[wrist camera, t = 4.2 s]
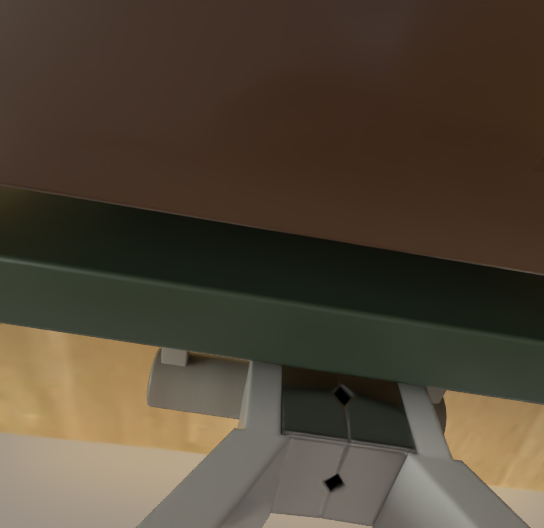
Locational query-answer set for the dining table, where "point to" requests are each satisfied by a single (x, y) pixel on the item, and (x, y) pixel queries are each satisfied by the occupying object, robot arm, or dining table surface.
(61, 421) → the dining table surface
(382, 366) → the drawer
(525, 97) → the cabinet
